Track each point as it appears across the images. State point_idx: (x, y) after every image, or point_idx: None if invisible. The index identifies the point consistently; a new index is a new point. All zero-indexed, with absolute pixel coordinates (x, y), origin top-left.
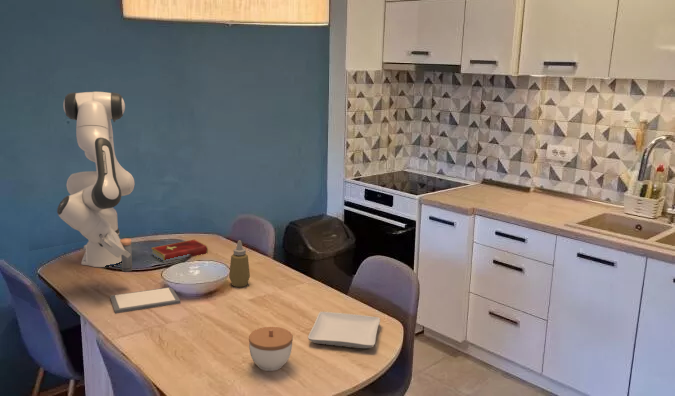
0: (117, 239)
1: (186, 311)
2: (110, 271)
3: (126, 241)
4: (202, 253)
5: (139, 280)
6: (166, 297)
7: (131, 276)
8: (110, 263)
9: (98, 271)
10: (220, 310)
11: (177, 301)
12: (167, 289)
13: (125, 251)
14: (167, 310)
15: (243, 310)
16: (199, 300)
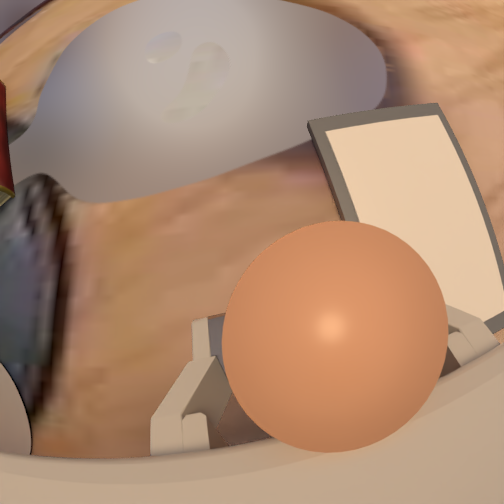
0: (417, 495)
1: (478, 102)
2: (61, 405)
3: (440, 306)
4: (4, 94)
5: (175, 274)
6: (423, 140)
7: (120, 316)
8: (13, 401)
9: (63, 447)
10: (452, 36)
11: (441, 111)
12: (344, 134)
13: (448, 313)
14: (484, 150)
15: (439, 5)
16: (403, 59)
